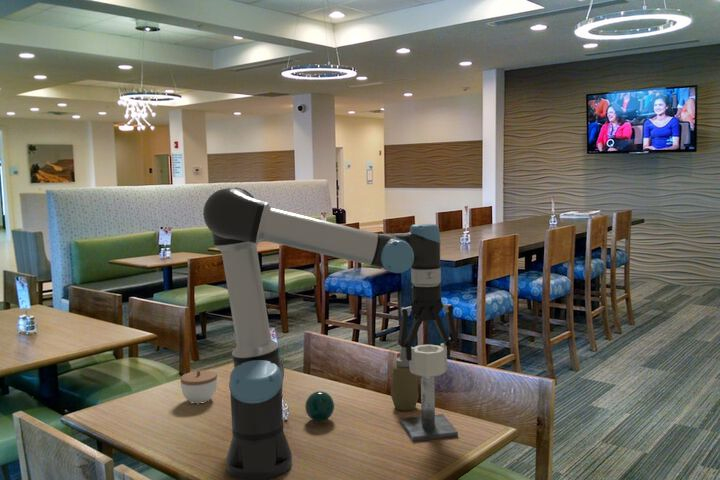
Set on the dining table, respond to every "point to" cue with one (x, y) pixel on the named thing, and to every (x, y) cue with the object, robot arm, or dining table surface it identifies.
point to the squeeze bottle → (404, 385)
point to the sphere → (319, 406)
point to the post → (428, 417)
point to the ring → (429, 360)
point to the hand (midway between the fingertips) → (428, 370)
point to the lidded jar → (199, 385)
